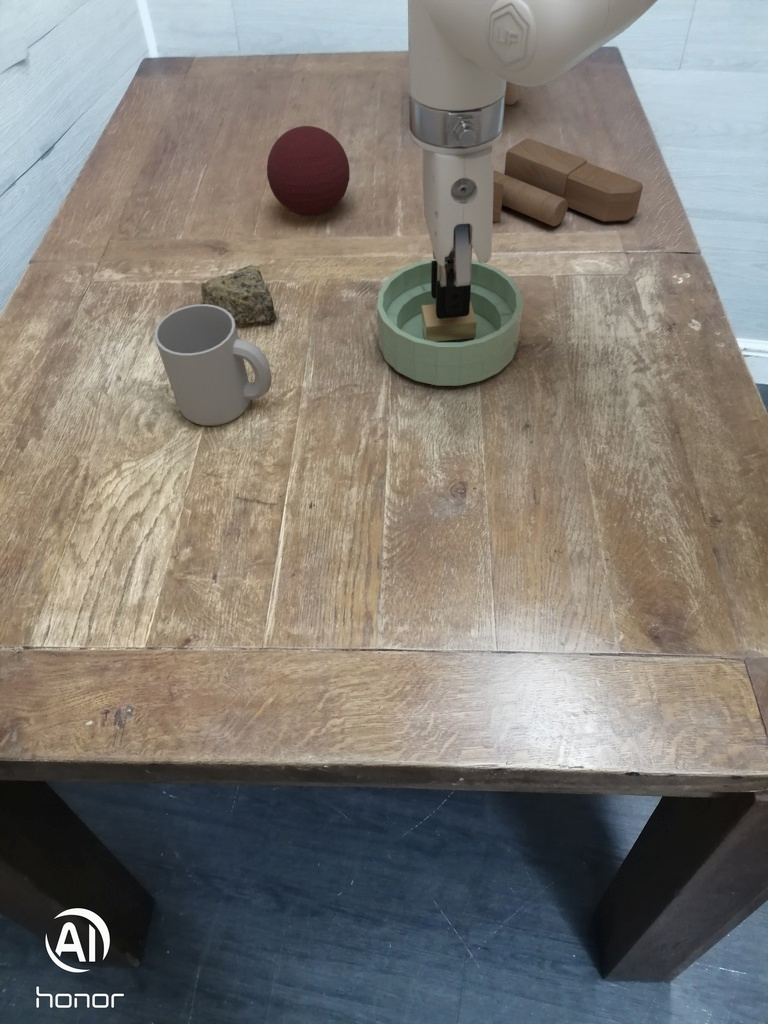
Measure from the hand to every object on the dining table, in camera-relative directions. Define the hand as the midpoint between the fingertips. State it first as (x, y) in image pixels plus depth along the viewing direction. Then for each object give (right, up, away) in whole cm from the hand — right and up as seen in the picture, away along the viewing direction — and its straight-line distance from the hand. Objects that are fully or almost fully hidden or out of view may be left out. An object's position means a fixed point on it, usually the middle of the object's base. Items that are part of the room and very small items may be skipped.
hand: (449, 304), depth 75 cm
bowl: (0, -3, +4) cm, 5 cm away
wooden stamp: (0, -3, +4) cm, 5 cm away
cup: (-22, -10, 0) cm, 24 cm away
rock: (-22, +2, +10) cm, 24 cm away
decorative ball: (-15, +18, +22) cm, 32 cm away
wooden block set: (+12, +15, +18) cm, 26 cm away
